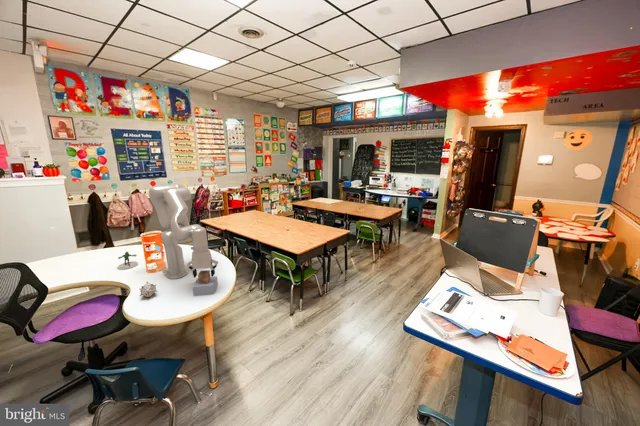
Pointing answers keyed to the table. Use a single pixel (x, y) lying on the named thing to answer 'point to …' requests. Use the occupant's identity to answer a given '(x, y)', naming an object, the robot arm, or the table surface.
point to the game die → (148, 290)
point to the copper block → (204, 277)
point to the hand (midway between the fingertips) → (204, 275)
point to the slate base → (205, 287)
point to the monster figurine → (127, 264)
